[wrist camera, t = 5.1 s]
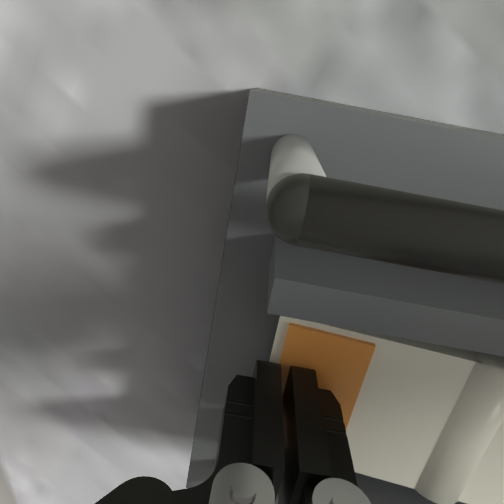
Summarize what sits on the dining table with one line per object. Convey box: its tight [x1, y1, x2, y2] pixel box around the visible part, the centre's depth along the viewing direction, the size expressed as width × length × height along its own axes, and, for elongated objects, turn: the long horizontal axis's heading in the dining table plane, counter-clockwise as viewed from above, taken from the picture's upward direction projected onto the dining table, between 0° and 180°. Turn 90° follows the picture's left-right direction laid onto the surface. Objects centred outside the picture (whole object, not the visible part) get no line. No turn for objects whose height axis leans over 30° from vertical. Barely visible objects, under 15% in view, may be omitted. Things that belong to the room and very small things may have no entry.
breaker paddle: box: [269, 316, 504, 504], centre depth 12 cm, size 12×5×2 cm, turn 80°
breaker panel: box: [186, 88, 504, 504], centre depth 13 cm, size 16×16×10 cm
